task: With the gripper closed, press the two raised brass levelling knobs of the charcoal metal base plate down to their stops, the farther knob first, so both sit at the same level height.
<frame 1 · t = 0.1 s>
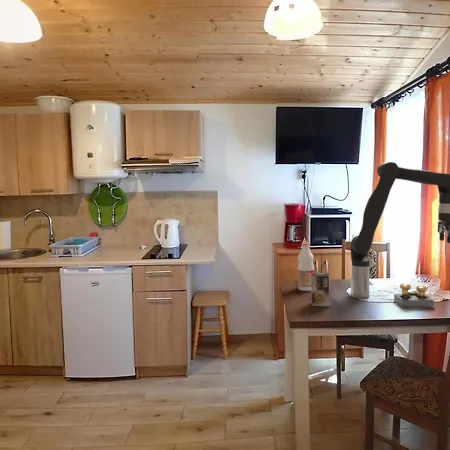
hand: (445, 241, 218), 29 cm above the table, fingers open, 8 cm apart
coffee box: (321, 304, 211), on the table
fruit juice: (306, 289, 241), on the table
level base plate: (413, 304, 206), on the table
brass knob far: (421, 293, 205), point 6 cm above the table, slide at 2.0 cm
brass knob near: (405, 291, 205), point 7 cm above the table, slide at 3.2 cm
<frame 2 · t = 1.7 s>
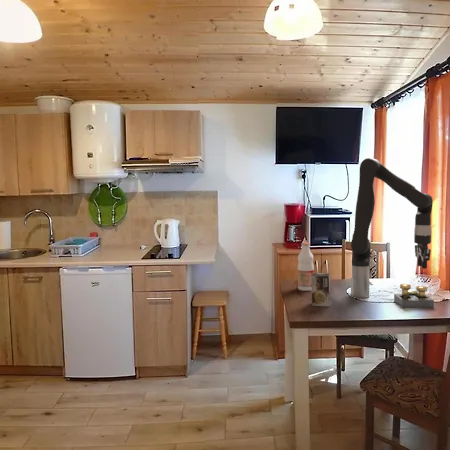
hand: (422, 267, 203), 19 cm above the table, fingers open, 5 cm apart
nothing on the table moved.
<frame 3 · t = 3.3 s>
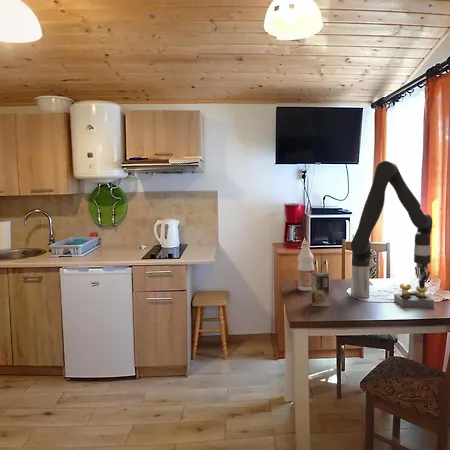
hand: (421, 287, 205), 9 cm above the table, fingers closed
brass knob far: (421, 293, 205), point 6 cm above the table, slide at 1.9 cm, touching gripper
everything else where it was.
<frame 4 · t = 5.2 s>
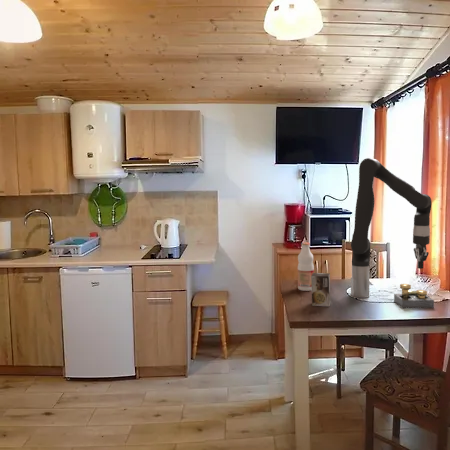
hand: (420, 268, 204), 19 cm above the table, fingers closed
brass knob far: (421, 297, 205), point 3 cm above the table, slide at -0.2 cm
everything else where it was.
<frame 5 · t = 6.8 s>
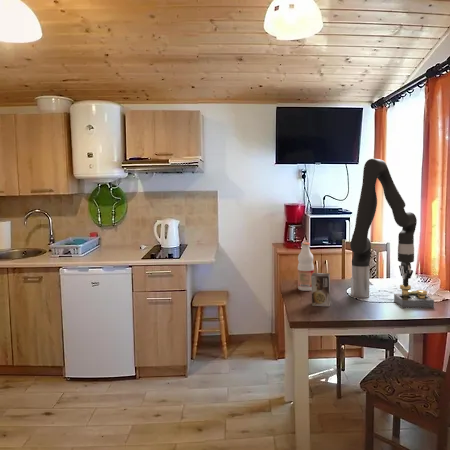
hand: (405, 285, 205), 10 cm above the table, fingers closed
brass knob near: (405, 292, 205), point 6 cm above the table, slide at 2.8 cm, touching gripper
everything else where it was.
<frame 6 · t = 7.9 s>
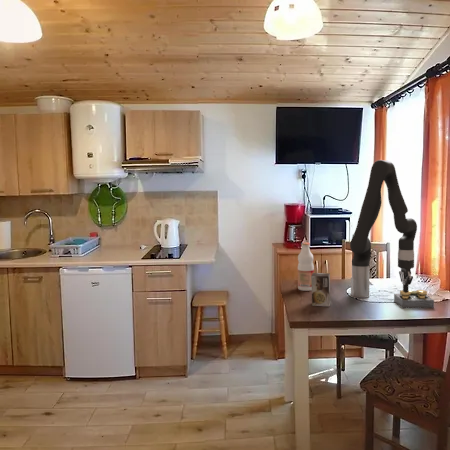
hand: (405, 291, 205), 7 cm above the table, fingers closed
brass knob near: (405, 298, 206), point 3 cm above the table, slide at -0.2 cm, touching gripper
everything else where it was.
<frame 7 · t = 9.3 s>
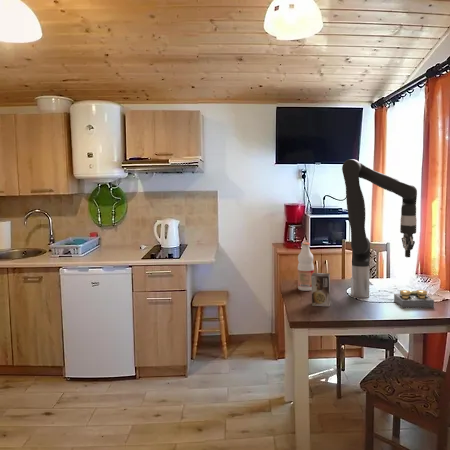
hand: (407, 257, 210), 23 cm above the table, fingers closed
brass knob near: (405, 298, 206), point 3 cm above the table, slide at -0.1 cm
everything else where it was.
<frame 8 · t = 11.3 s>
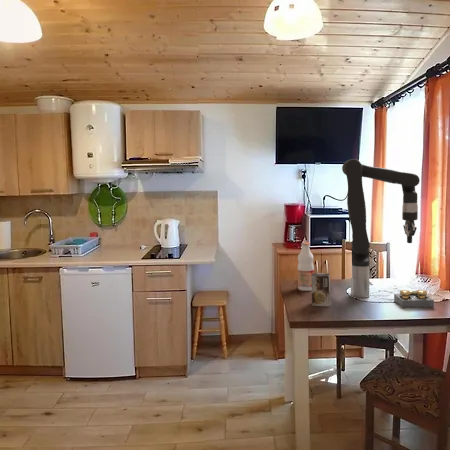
hand: (409, 242, 219), 29 cm above the table, fingers closed
nothing on the table moved.
at the end: brass knob near slide at -0.1 cm; brass knob far slide at -0.2 cm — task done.
